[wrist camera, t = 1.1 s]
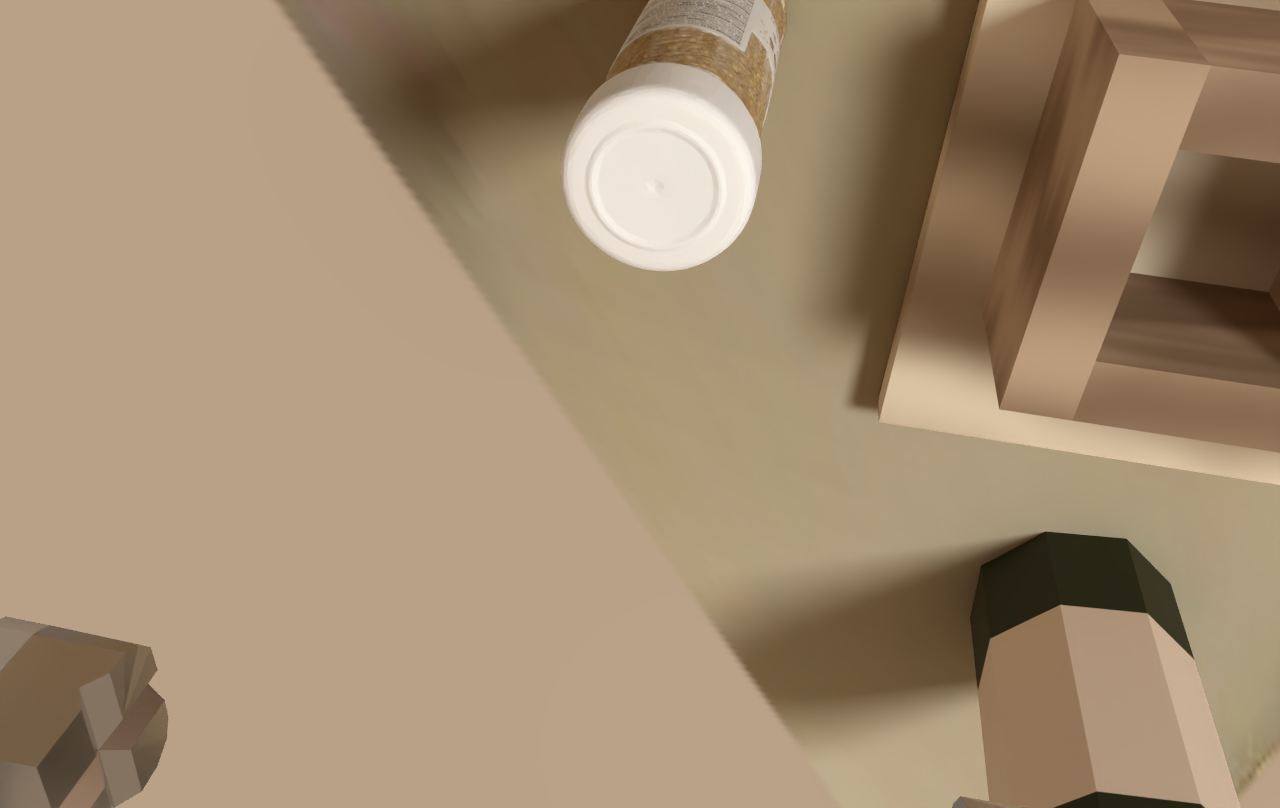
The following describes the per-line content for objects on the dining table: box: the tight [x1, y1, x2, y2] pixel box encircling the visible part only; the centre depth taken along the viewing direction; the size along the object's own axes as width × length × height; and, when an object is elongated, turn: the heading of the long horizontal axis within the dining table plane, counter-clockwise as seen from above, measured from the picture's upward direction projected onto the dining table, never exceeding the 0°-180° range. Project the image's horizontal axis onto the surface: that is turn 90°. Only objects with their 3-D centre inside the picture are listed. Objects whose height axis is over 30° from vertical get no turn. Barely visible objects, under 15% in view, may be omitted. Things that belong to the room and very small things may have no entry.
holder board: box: [878, 0, 1280, 485], centre depth 33 cm, size 22×16×8 cm
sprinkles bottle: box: [561, 0, 787, 271], centre depth 30 cm, size 5×5×13 cm
